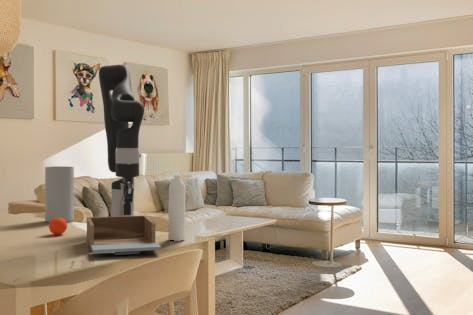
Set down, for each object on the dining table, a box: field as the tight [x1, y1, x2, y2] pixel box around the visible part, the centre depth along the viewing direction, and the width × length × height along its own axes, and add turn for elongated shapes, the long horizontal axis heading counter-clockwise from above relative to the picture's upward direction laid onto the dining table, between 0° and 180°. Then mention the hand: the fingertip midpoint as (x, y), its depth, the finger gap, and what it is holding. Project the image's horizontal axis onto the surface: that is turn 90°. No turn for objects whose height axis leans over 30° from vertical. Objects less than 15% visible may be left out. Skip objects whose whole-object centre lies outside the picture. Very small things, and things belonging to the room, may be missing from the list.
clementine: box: [48, 217, 68, 236], centre depth 222 cm, size 8×7×7 cm
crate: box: [86, 215, 156, 253], centre depth 201 cm, size 20×22×9 cm
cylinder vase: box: [44, 165, 75, 224], centre depth 257 cm, size 12×12×25 cm
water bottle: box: [167, 173, 192, 242], centre depth 212 cm, size 9×6×25 cm
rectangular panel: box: [91, 241, 162, 256], centre depth 185 cm, size 2×22×10 cm
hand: (127, 214), depth 182 cm, fingers closed
